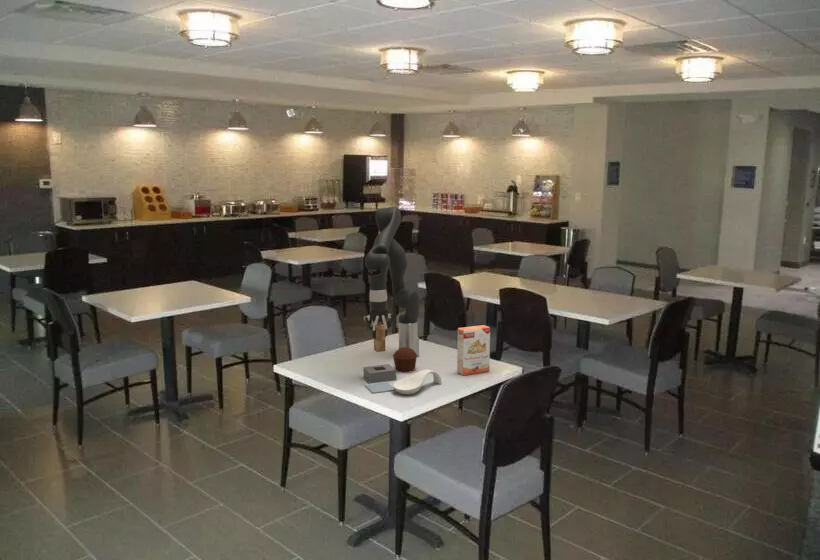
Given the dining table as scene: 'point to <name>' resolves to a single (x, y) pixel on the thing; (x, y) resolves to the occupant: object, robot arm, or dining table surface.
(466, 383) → the dining table surface
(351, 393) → the dining table surface
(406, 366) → the muffin
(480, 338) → the cracker box
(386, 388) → the rubber mat
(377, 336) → the walnut plug
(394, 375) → the block
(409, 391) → the spoon rest
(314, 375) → the dining table surface
